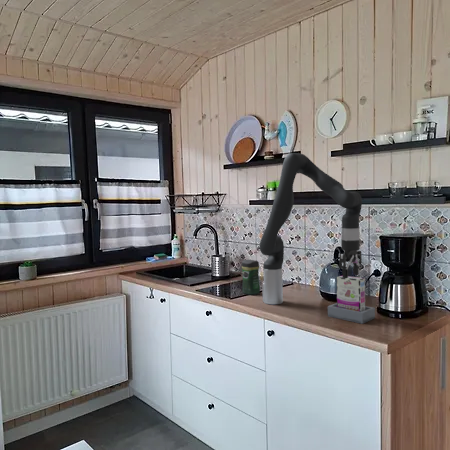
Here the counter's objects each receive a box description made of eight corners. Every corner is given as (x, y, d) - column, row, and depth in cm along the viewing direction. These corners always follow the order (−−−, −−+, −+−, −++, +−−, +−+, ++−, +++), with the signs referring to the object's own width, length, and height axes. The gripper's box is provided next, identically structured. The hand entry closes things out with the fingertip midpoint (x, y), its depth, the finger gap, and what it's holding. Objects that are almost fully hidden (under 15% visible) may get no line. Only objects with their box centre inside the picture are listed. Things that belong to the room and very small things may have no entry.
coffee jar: (262, 293, 228) (261, 259, 226) (251, 296, 223) (250, 261, 222) (250, 290, 235) (249, 258, 234) (239, 293, 230) (239, 259, 229)
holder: (327, 316, 182) (327, 306, 182) (340, 311, 189) (340, 301, 189) (362, 323, 170) (362, 313, 170) (374, 318, 177) (374, 307, 177)
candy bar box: (366, 315, 177) (365, 277, 176) (360, 318, 174) (359, 279, 173) (342, 311, 186) (342, 274, 184) (336, 313, 182) (336, 276, 181)
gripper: (351, 236, 185) (351, 272, 186) (333, 239, 175) (333, 277, 176) (367, 237, 179) (367, 274, 180) (349, 240, 170) (349, 280, 171)
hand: (350, 276), depth 178 cm, fingers open, 8 cm apart
